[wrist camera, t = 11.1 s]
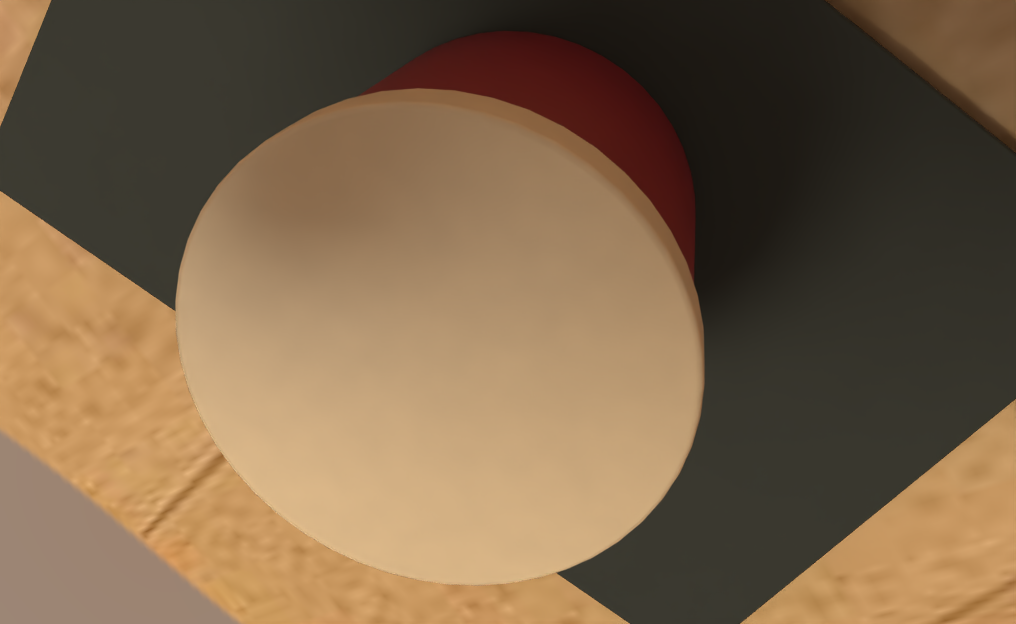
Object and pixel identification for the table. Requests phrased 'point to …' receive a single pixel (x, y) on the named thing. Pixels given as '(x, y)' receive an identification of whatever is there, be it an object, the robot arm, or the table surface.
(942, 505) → the table surface
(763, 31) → the mat
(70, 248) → the table surface
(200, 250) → the tub
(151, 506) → the table surface
